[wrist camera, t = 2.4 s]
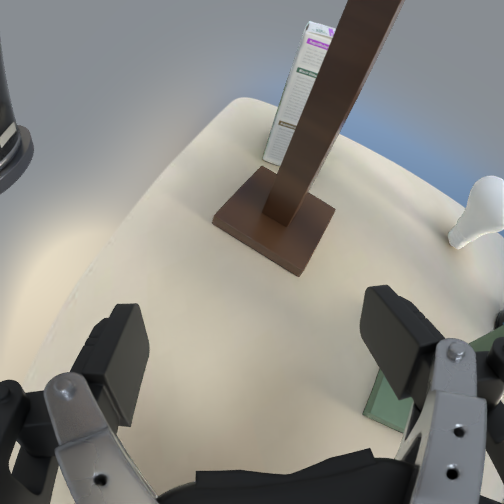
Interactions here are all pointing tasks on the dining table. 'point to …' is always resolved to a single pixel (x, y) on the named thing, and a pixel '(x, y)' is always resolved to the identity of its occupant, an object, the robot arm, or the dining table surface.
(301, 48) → the syrup box
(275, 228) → the brown pedestal stand
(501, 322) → the supplement container
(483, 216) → the lightbulb
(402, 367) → the robot arm
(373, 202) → the dining table surface
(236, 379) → the dining table surface
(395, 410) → the green pedestal stand
